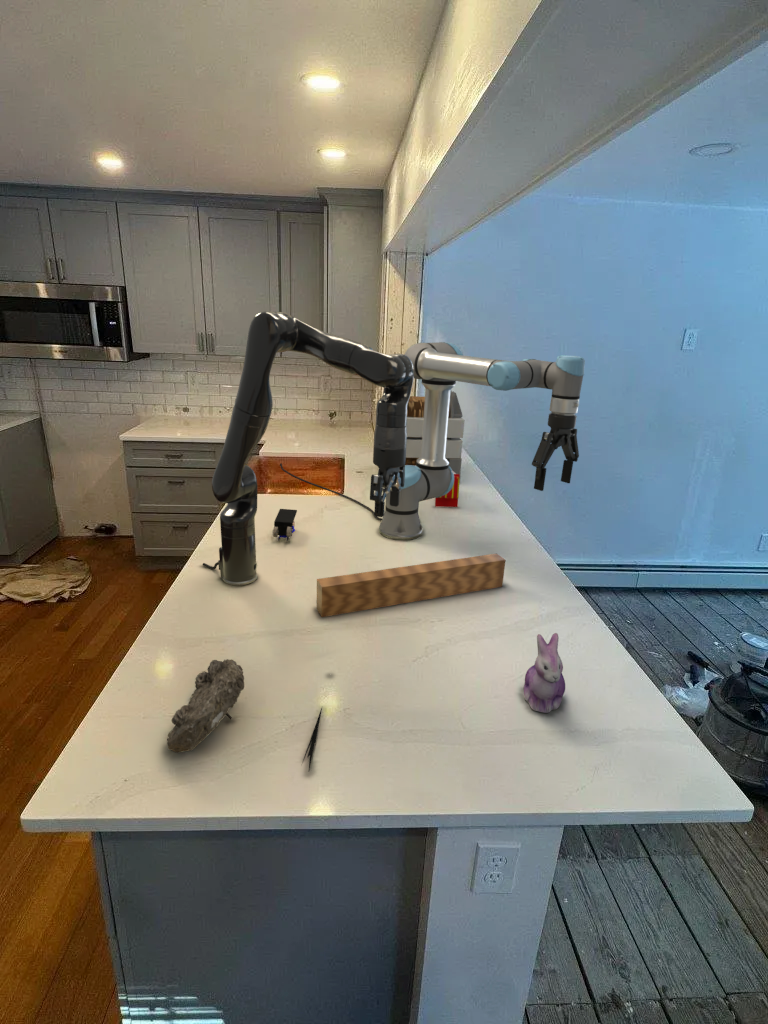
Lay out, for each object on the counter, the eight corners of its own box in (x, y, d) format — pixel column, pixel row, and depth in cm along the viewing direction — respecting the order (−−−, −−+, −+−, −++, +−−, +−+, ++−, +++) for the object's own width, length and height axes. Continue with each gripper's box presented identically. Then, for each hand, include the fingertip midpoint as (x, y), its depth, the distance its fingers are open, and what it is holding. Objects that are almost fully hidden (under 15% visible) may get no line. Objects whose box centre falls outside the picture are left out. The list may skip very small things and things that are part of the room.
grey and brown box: (382, 463, 289) (386, 382, 275) (445, 464, 293) (451, 384, 279) (390, 482, 257) (394, 392, 243) (460, 483, 261) (468, 394, 247)
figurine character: (292, 547, 188) (298, 526, 201) (292, 527, 184) (297, 507, 198) (272, 547, 187) (279, 526, 201) (271, 526, 184) (278, 506, 197)
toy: (452, 465, 253) (463, 475, 224) (451, 495, 256) (461, 508, 227) (425, 464, 253) (433, 474, 224) (424, 494, 256) (431, 507, 226)
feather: (331, 679, 122) (336, 673, 122) (307, 777, 96) (313, 769, 95) (324, 675, 122) (329, 669, 121) (298, 772, 95) (304, 764, 95)
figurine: (543, 721, 111) (554, 655, 106) (509, 690, 119) (518, 628, 114) (578, 708, 115) (591, 644, 110) (543, 679, 123) (553, 619, 118)
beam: (493, 579, 169) (496, 553, 166) (502, 586, 165) (505, 559, 162) (316, 608, 148) (316, 578, 146) (321, 617, 144) (321, 587, 141)
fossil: (192, 660, 117) (244, 628, 112) (224, 691, 120) (276, 661, 115) (142, 746, 98) (202, 712, 93) (182, 779, 101) (242, 748, 96)
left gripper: (388, 436, 137) (385, 500, 143) (361, 448, 125) (359, 517, 131) (416, 440, 134) (412, 505, 140) (392, 452, 122) (388, 523, 128)
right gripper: (548, 419, 148) (537, 496, 155) (598, 411, 163) (586, 482, 171) (525, 414, 153) (515, 489, 160) (575, 407, 169) (564, 476, 176)
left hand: (386, 510), depth 135 cm, fingers open, 8 cm apart
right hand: (552, 485), depth 166 cm, fingers open, 13 cm apart
